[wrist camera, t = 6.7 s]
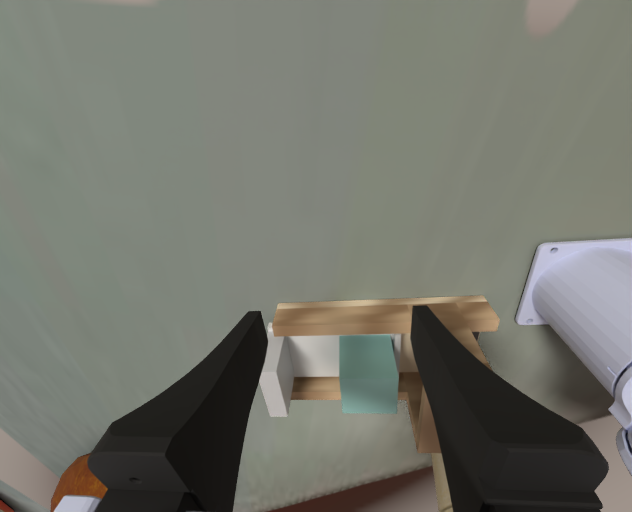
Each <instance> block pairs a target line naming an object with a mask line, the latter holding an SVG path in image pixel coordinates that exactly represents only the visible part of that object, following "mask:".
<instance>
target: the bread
mask: <svg viewBox="0 0 632 512" xmlns="http://www.w3.org/2000/svg"><path fill="white" fill-rule="evenodd" d="M90 454H91V453H89V454H86V455H83V456H81V457H78V458H77V459H76V460H75V461H74V462H73V463H72V464H71V465H70V466H69V467H68V468H67V470H66V471H65V472H64V473H63V474H62V476H61V478H60V481H59V483H58V485H57V488H56V490H55V492H54V495H53V497H52V500H51V512H54V510H55V509H56V507H57V506H58V504H59V503H60V501H61V500H62V498H63V497H64V496H66V495H83V496H95V497H98V498H101V499H102V498H103V497H104V495H105V493H106V491H107V490H108V489H107V488H106V487H105V486H104V485H103V484H102V483H101V482H100V480H99V479H98V478H97V477H96V476H95V475H94V474H93V473H92V472H91V471H90V470H89V468H88V464H87V460H88V457H89V456H90Z"/></svg>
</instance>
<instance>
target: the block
mask: <svg viewBox="0 0 632 512" xmlns="http://www.w3.org/2000/svg"><path fill="white" fill-rule="evenodd" d="M339 382H340V391H341V401H342V411H343V413H396V414H397V401H398V382H399V377H398V372H397V367H396V362H395V357H394V352H393V347H392V342H391V337H390V335H348V336H339Z"/></svg>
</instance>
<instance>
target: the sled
mask: <svg viewBox="0 0 632 512" xmlns="http://www.w3.org/2000/svg"><path fill="white" fill-rule="evenodd" d="M272 324H273V323H269V325H268V334H267V338H268V347H267V353H266V358H265V363H264V366H263V370H262V373H261V376H260V379H259V382H260V385H261V388H262V391H263V395H264V398H265V401H266V404H267V407H268V411H269V414H270V417H288V413H289V407H290V400H291V394H292V388H293V382H294V377H339V336H348V335H321V336H280V337H274V333H273V329H272ZM362 335H390V337H391V342H392V347H393V352H394V357H395V362H396V367H397V372H398V377H399V364H400V346H401V334H362Z"/></svg>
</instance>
